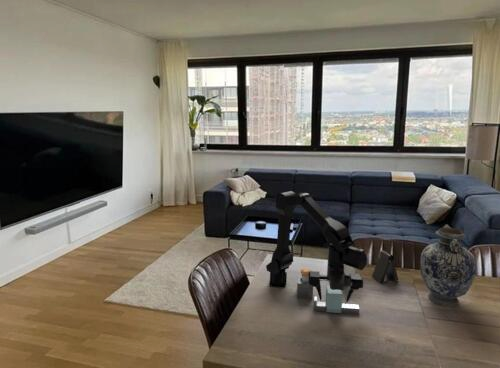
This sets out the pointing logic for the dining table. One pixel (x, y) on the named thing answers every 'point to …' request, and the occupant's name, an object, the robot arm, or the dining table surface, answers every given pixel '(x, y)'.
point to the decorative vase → (447, 267)
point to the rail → (345, 309)
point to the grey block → (333, 300)
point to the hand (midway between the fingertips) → (333, 301)
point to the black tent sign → (385, 268)
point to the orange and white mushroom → (305, 275)
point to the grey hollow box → (304, 289)
